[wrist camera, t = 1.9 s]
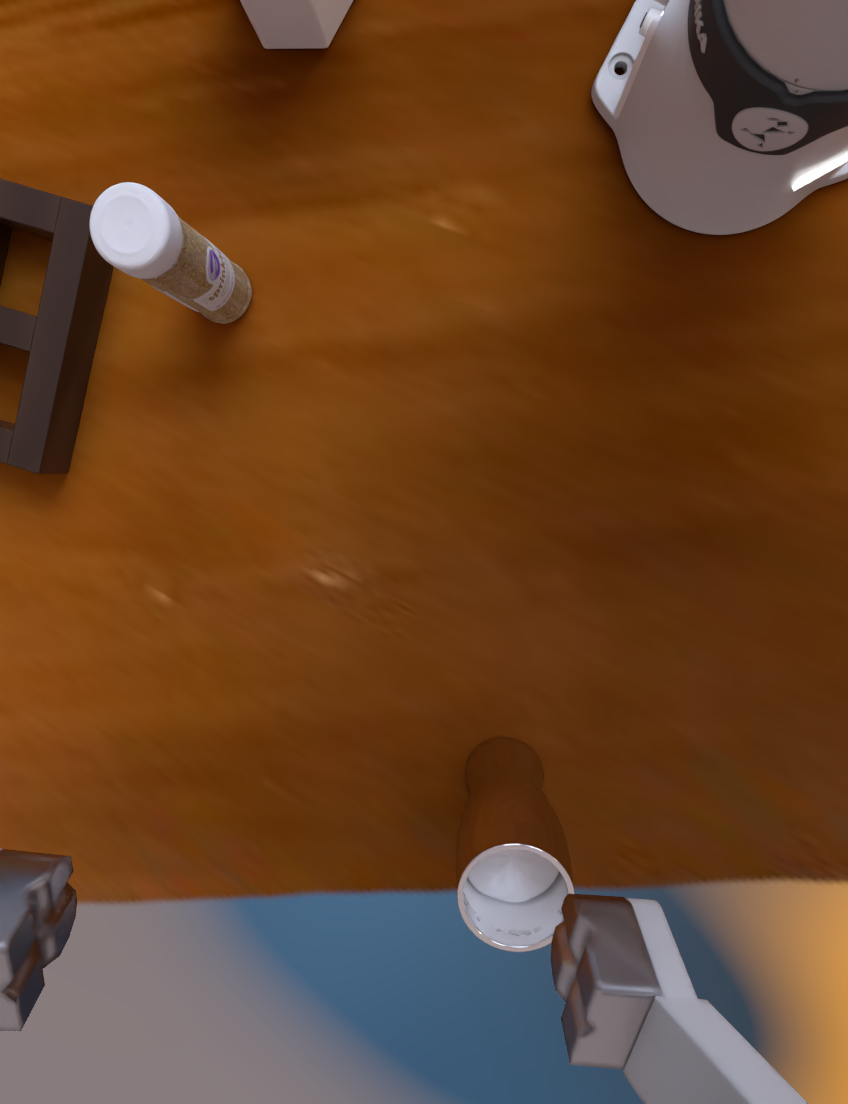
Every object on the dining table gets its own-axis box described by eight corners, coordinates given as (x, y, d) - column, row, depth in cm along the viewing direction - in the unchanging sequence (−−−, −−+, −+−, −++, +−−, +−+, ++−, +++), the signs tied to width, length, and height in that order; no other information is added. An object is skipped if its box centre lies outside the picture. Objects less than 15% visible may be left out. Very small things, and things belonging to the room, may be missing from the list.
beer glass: (445, 790, 51) (432, 920, 37) (484, 716, 50) (488, 819, 36) (523, 830, 51) (542, 977, 36) (565, 756, 50) (602, 876, 35)
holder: (-60, 433, 51) (-99, 431, 48) (-13, 185, 48) (-51, 163, 45) (68, 473, 51) (38, 474, 47) (122, 225, 48) (95, 206, 44)
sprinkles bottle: (259, 317, 48) (176, 258, 35) (201, 330, 48) (97, 277, 35) (245, 253, 47) (155, 169, 34) (187, 268, 48) (76, 190, 35)
